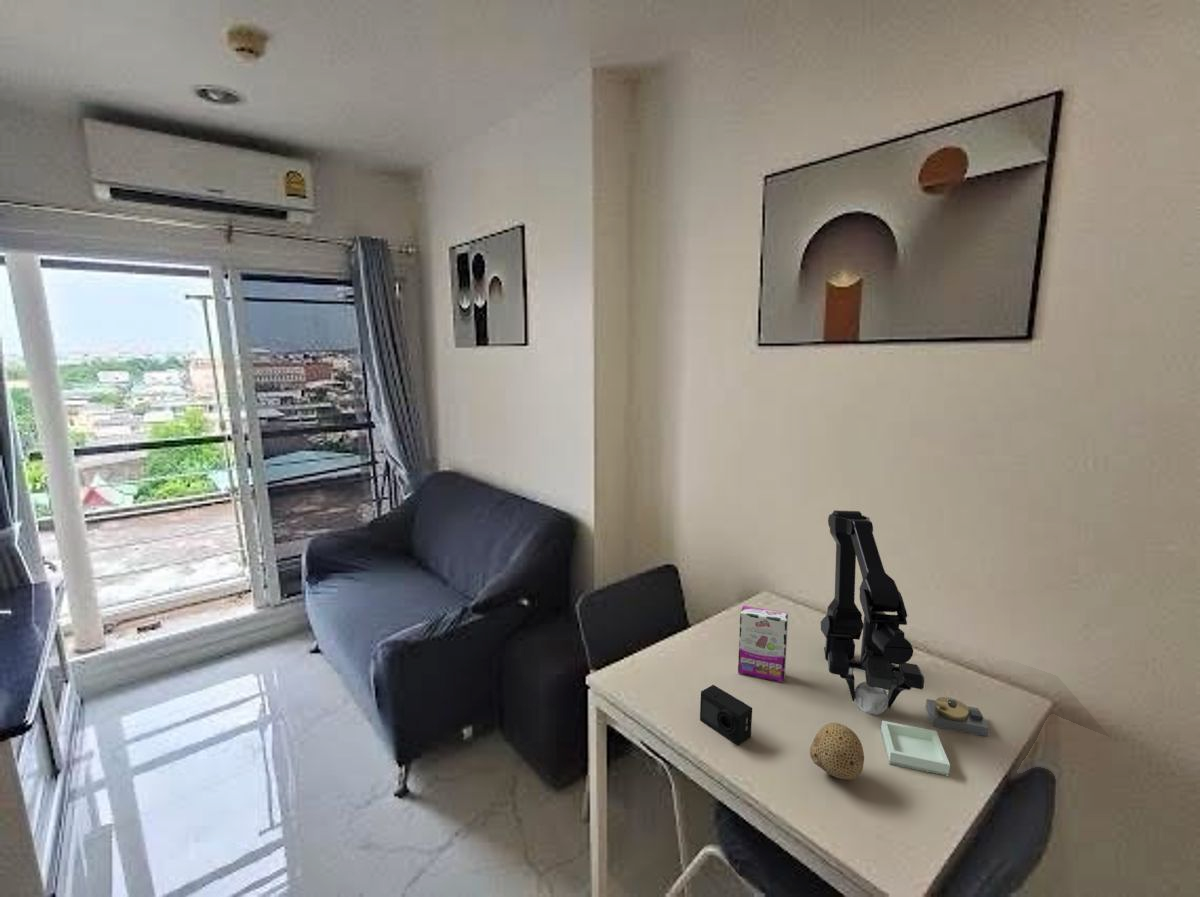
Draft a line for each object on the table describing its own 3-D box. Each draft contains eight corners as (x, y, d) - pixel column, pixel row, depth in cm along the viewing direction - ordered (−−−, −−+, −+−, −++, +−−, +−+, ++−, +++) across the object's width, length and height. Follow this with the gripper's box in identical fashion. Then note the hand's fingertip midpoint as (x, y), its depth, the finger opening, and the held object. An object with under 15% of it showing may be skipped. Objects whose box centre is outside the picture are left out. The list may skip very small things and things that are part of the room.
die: (853, 703, 124) (854, 683, 123) (870, 699, 125) (871, 679, 125) (870, 716, 119) (872, 696, 118) (887, 712, 121) (889, 691, 120)
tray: (889, 763, 105) (890, 752, 105) (881, 731, 114) (882, 720, 114) (948, 776, 102) (950, 764, 101) (934, 742, 111) (936, 731, 111)
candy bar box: (785, 673, 136) (789, 612, 133) (783, 684, 131) (788, 620, 128) (739, 663, 140) (742, 604, 137) (736, 673, 135) (740, 612, 133)
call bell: (933, 726, 116) (935, 707, 115) (925, 706, 123) (927, 689, 122) (988, 736, 113) (990, 717, 112) (977, 716, 119) (979, 698, 119)
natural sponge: (874, 791, 98) (879, 742, 97) (830, 799, 96) (835, 749, 95) (842, 756, 107) (846, 710, 105) (801, 763, 105) (805, 716, 104)
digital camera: (695, 722, 117) (696, 693, 116) (711, 712, 120) (712, 683, 119) (734, 749, 109) (735, 717, 108) (750, 737, 112) (752, 707, 111)
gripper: (834, 650, 115) (828, 716, 117) (934, 666, 109) (926, 736, 111) (830, 626, 125) (825, 687, 128) (921, 639, 119) (914, 704, 122)
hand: (870, 703), depth 122 cm, fingers closed on die, 7 cm apart
